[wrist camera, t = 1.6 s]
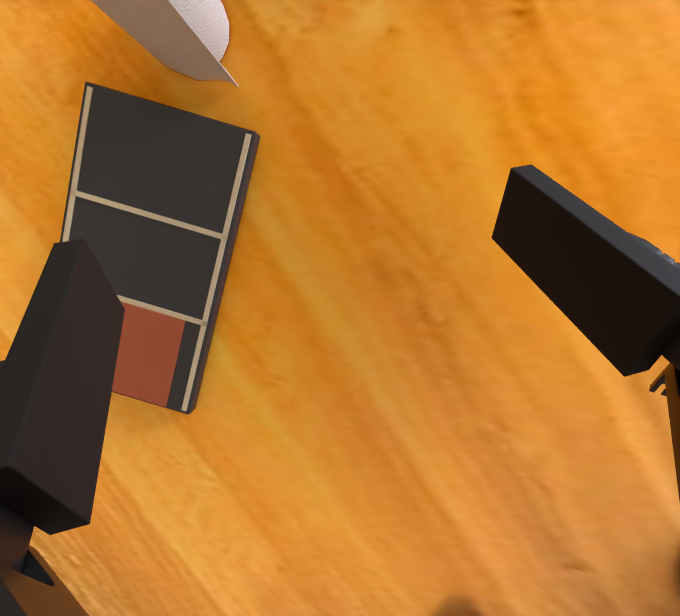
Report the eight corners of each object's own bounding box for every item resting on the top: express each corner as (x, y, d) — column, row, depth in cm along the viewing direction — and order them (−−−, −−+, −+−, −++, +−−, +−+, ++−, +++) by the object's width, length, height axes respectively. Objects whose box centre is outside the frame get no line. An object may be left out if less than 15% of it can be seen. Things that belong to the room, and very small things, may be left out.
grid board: (95, 87, 30) (82, 79, 29) (260, 136, 30) (255, 131, 29) (49, 365, 34) (36, 371, 33) (194, 409, 34) (188, 416, 33)
